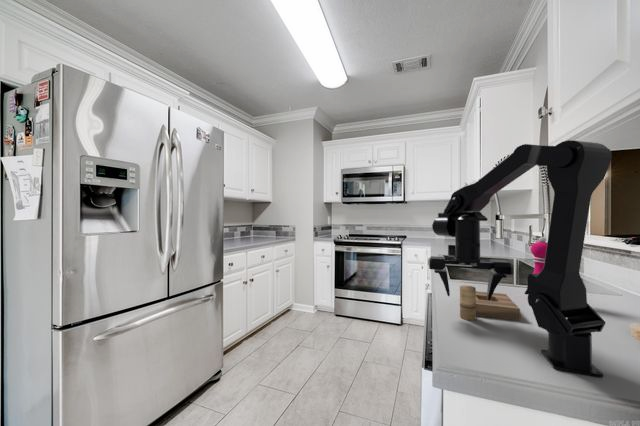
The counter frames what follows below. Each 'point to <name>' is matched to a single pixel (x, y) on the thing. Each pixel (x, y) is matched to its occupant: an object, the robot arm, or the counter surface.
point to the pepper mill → (539, 254)
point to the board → (496, 306)
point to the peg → (468, 302)
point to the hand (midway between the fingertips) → (468, 297)
